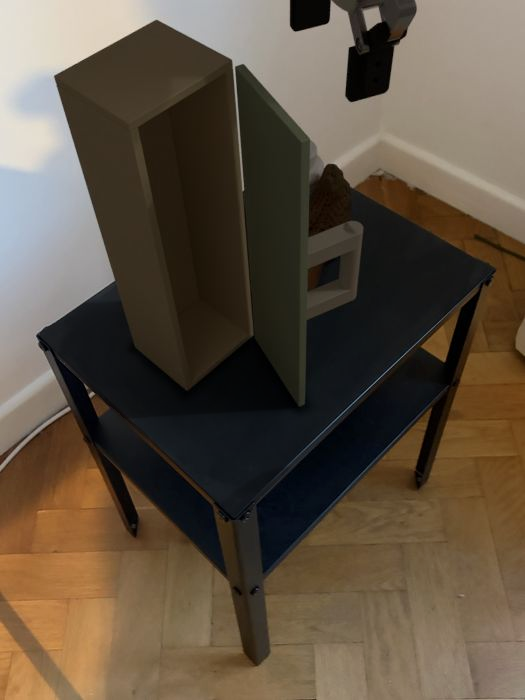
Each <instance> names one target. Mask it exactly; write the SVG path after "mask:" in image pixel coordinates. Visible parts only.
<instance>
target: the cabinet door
mask: <svg viewBox="0 0 525 700" xmlns="http://www.w3.org/2000/svg"><path fill="white" fill-rule="evenodd" d="M234 70H235V71H234V72H235V74H234V75H235V85H236V87H235V89H236V99H237V102H236V103H237V114H238V115H237V116H238V129H239V141H240V142H239V143H240V156H241V166H242V167H241V170H242V183H243V197H244V210H245V224H246V237H247V250H248V264H249V275H250V276H251V290H252V299H251V304H252V318H253V331H254V339H255V341H256V343H257V344H258V345H259V348H260V349H261V350H262V352H263V354H264V355H265V357H266V358H267V360H268V361H269V363H270V364H271V366H272V367H273V370H274V371H275V373H276V374H277V375H278V377H279V378H280V380H281V382H282V384H283V385H284V387H285V388H286V390H287V391H288V393H289V394H290V395H291V397H292V399H293V400H294V402H295V403H296V405H297V407H299V408H300V407H303V406H305V405H306V374H307V373H306V371H307V370H306V369H307V323H308V322H307V321H309V320H311V319H313V318H315V317H318V316H320V315H322V314H324V313H326V312H329V311H331V310H334V309H336V308H338V307H340V306H343V305H345V304H347V303H350V302H352V301H354V300H355V299H356V298H357V295H358V285H359V284H358V283H359V275H360V267H361V266H360V264H361V255H362V245H363V236H364V226H363V224H362V223H361V222H359V221H356V220H351V221H349V222H346V223H344V224H341V225H339V226H336V227H334V228H331V229H329V230H326V231H324V232H321V233H319V234H316V235H314V236H311V237H309V238H308V226H309V176H310V140H311V137H309V135H308V134H307V133H305V131H304V130H303V129H302V128H301V126H299V124H298V123H297V122H296V121H295V120H294V119H293V118H292V116H291V115H289V113H288V112H287V111H286V110H285V108H284V107H283V106H282V105H281V104H280V103H279V102H278V101H277V99H276V98H275V97H274V96H273V95H272V94H271V93H270V91H268V89H267V88H265V87H266V86H264V85H263V84H262V83H261V81H260V80H259V79H258V78H257V77H256V76H255V75H254V74H253V73H252V72H251V70H250V69H249V68H248V67H247V66H246V64H244V63H241V64H237V65H235V66H234ZM338 257H340V260H339V273H338V278H337V279H335V280H333V281H330V282H328V283H325V284H323V285H320V286H317V288H316V289H313V290H311V291H309V292H307V276H308V269H309V268H311V267H313V266H316V265H318V264H321V263H323V262H325V263H326V262H328V261H330V260H332V259H335V258H338Z"/></svg>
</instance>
